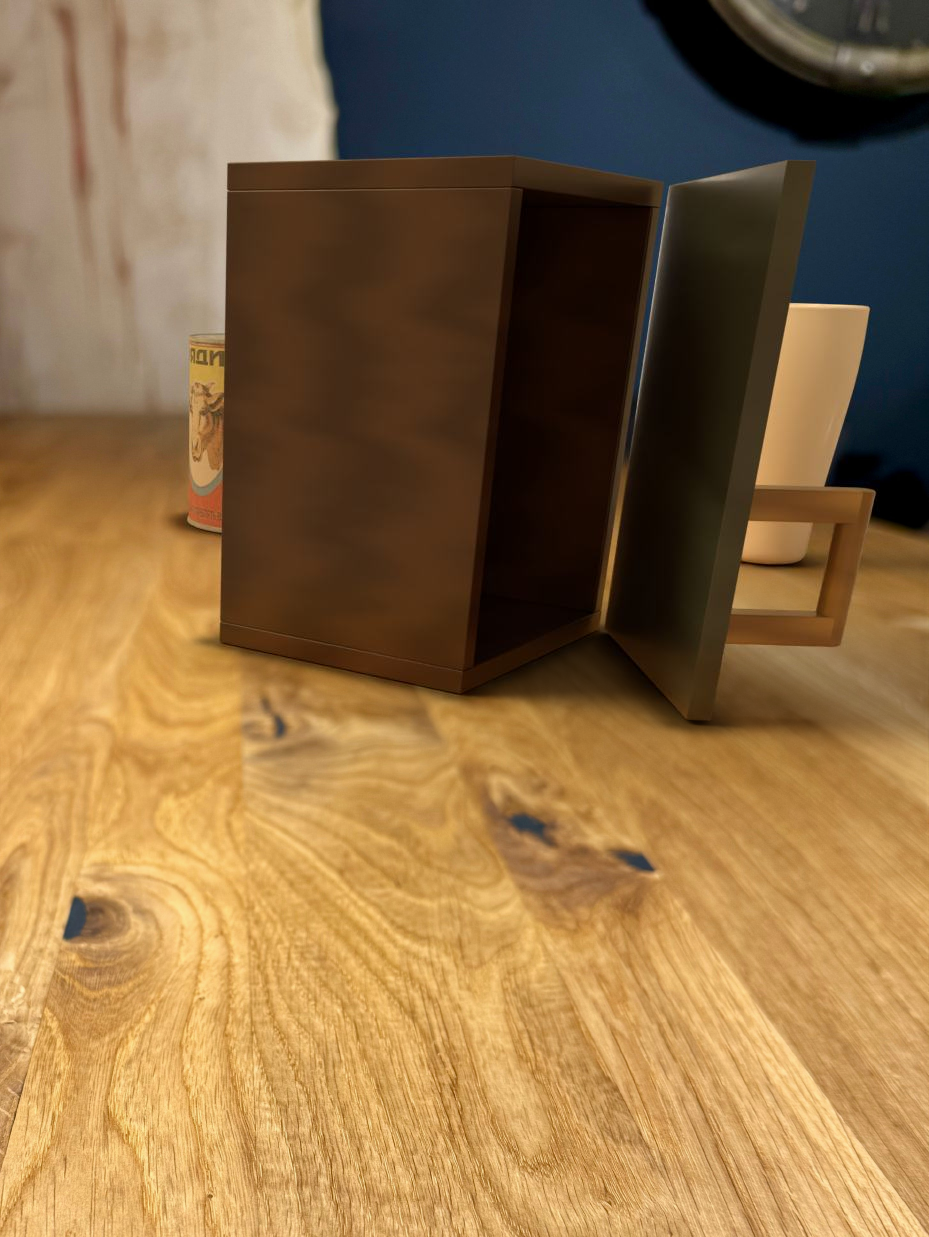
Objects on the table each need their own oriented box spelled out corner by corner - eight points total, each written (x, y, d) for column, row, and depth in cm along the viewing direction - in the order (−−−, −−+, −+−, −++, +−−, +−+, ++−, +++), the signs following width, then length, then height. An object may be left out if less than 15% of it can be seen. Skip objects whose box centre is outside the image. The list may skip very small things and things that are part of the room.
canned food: (158, 515, 94) (157, 333, 89) (287, 505, 100) (293, 332, 94) (243, 542, 86) (248, 342, 80) (379, 529, 91) (391, 341, 86)
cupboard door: (724, 632, 66) (807, 188, 58) (837, 724, 53) (969, 164, 44) (603, 628, 66) (669, 184, 58) (686, 719, 53) (787, 159, 44)
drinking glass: (770, 546, 89) (818, 303, 82) (840, 566, 83) (897, 307, 77) (685, 550, 87) (728, 301, 80) (751, 570, 81) (802, 304, 75)
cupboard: (599, 629, 67) (664, 181, 58) (460, 694, 56) (515, 154, 47) (380, 591, 74) (409, 184, 65) (219, 642, 63) (226, 162, 54)
